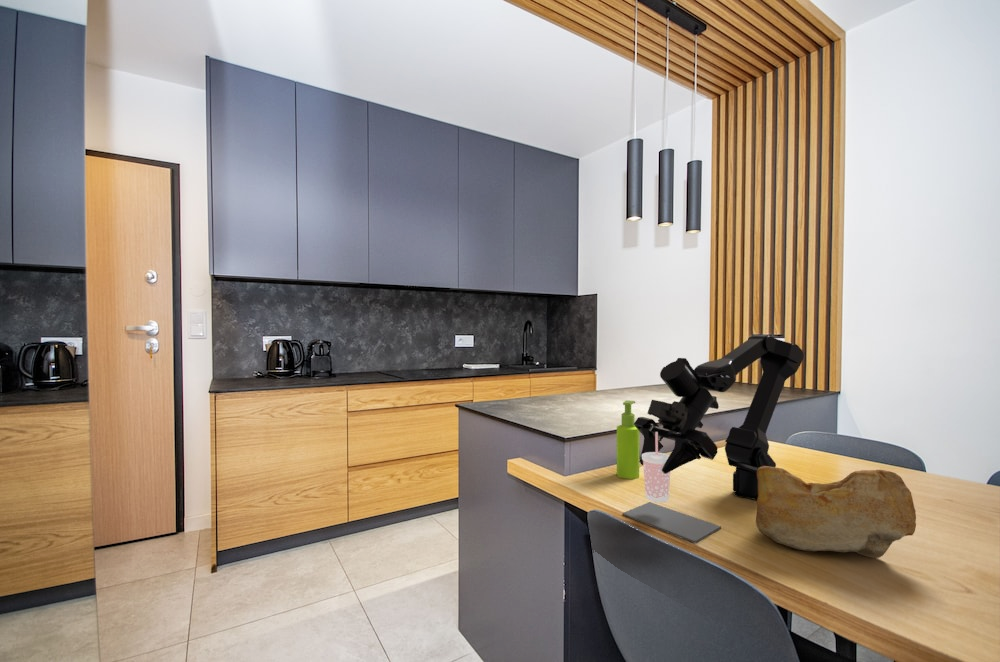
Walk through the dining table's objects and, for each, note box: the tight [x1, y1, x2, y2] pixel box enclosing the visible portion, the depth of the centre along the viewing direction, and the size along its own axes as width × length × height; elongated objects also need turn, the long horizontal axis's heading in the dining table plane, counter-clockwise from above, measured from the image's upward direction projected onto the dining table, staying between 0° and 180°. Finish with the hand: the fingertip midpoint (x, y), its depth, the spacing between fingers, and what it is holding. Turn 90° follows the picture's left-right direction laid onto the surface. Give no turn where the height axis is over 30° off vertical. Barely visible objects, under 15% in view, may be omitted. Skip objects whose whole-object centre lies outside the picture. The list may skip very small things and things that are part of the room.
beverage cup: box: [642, 432, 671, 504], centre depth 93 cm, size 6×6×14 cm
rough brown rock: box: [755, 466, 917, 559], centre depth 83 cm, size 23×17×15 cm
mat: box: [622, 501, 722, 544], centre depth 91 cm, size 16×10×1 cm, turn 38°
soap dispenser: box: [616, 400, 640, 480], centre depth 120 cm, size 6×7×20 cm
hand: (651, 467), depth 93 cm, fingers closed on beverage cup, 6 cm apart
